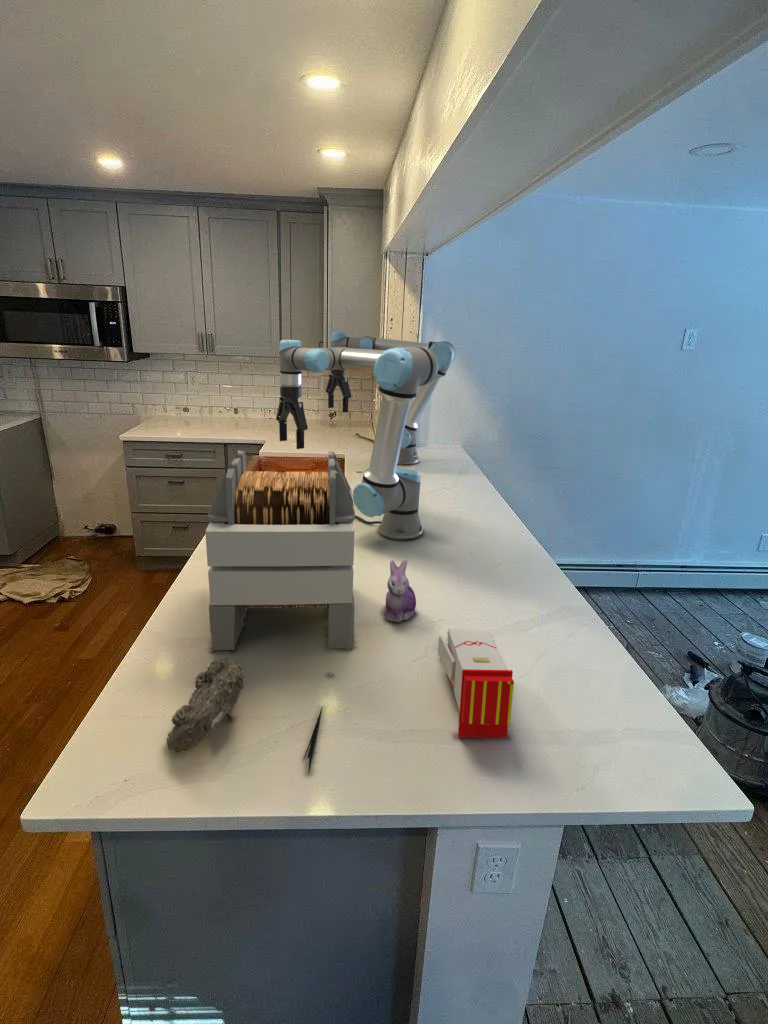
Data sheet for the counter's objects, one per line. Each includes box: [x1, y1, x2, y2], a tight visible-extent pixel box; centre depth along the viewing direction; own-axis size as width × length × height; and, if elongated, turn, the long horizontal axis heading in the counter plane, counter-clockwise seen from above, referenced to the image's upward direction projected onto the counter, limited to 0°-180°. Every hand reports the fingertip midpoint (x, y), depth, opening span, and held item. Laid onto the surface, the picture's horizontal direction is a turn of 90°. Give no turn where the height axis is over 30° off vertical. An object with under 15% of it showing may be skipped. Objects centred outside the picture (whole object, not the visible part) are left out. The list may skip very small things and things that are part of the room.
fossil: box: [166, 658, 245, 754], centre depth 106 cm, size 22×10×15 cm
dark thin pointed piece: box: [301, 673, 332, 771], centre depth 108 cm, size 2×28×2 cm
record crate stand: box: [204, 449, 356, 652], centre depth 138 cm, size 34×33×41 cm
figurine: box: [384, 558, 417, 623], centre depth 145 cm, size 9×10×15 cm
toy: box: [437, 628, 515, 738], centre depth 117 cm, size 12×13×30 cm
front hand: (291, 444), depth 207 cm, fingers open, 13 cm apart
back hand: (337, 410), depth 280 cm, fingers open, 13 cm apart
